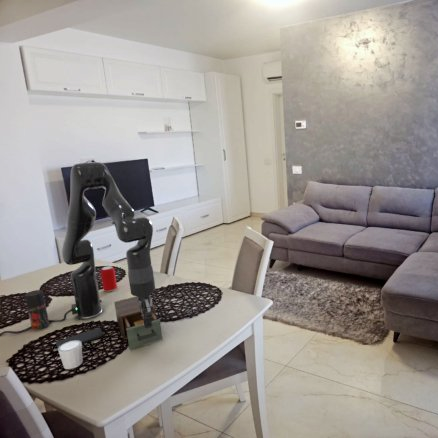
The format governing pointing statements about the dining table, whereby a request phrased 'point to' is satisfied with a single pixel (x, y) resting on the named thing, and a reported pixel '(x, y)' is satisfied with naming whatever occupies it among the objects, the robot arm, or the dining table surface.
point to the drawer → (141, 331)
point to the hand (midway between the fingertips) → (148, 326)
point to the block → (138, 322)
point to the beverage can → (108, 278)
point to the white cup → (71, 354)
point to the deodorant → (37, 310)
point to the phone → (83, 337)
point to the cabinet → (127, 312)
